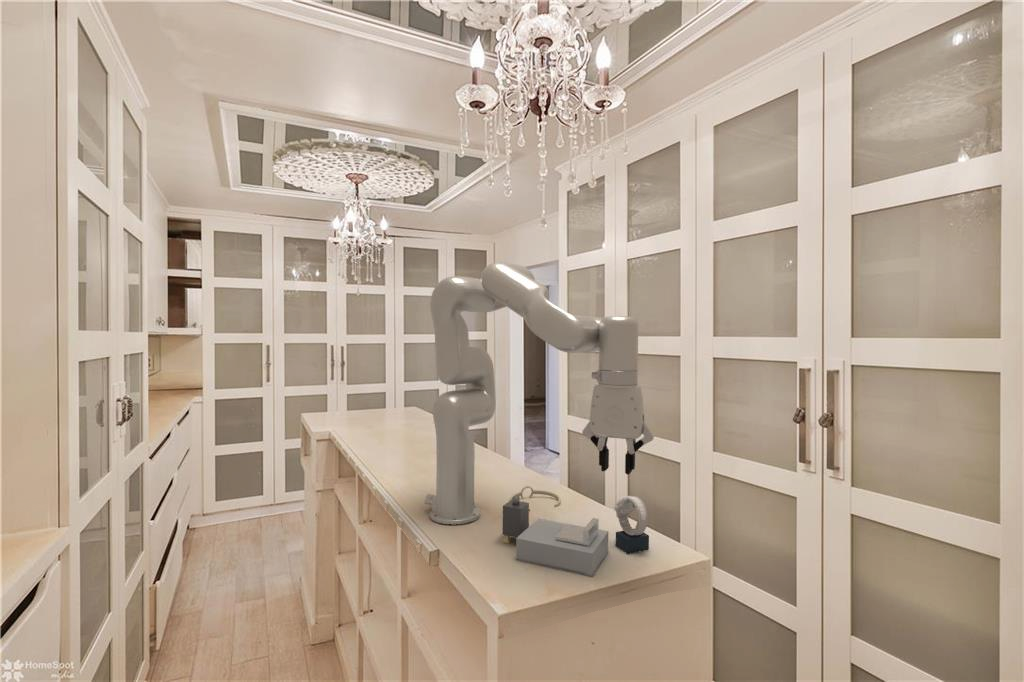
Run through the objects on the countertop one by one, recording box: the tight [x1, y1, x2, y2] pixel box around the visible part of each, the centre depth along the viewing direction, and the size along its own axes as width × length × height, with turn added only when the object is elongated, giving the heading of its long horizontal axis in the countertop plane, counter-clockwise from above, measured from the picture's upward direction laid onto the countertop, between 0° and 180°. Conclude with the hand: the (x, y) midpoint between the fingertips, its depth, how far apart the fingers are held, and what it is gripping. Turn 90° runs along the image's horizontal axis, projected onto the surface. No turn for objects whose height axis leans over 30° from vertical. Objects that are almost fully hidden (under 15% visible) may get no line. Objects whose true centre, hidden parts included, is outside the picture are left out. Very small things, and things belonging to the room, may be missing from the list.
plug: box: [502, 496, 530, 544], centre depth 112 cm, size 4×4×10 cm
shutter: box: [555, 517, 600, 546], centre depth 103 cm, size 7×7×3 cm
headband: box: [508, 485, 561, 512], centre depth 137 cm, size 15×4×10 cm
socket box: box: [515, 518, 609, 578], centre depth 105 cm, size 16×12×4 cm
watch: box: [614, 495, 650, 555], centre depth 109 cm, size 6×8×11 cm
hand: (616, 470), depth 100 cm, fingers open, 4 cm apart
